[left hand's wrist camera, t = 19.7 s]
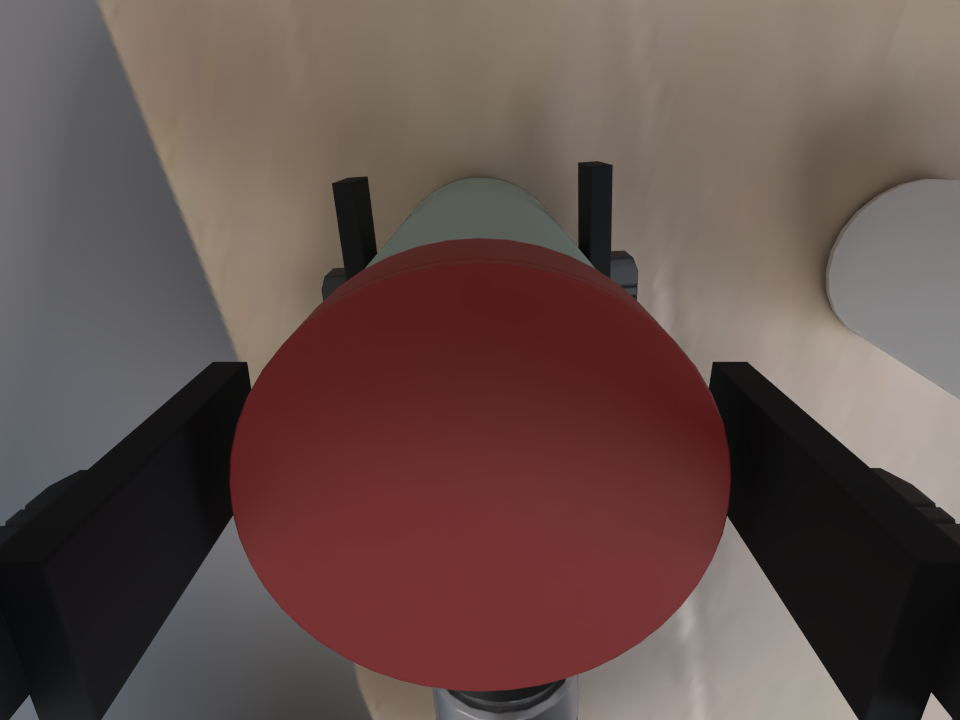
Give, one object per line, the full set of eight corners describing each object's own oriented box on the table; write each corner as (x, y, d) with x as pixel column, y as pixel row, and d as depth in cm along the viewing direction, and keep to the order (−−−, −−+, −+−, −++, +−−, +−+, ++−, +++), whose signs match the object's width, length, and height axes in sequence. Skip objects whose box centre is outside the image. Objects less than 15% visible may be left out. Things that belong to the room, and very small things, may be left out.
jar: (548, 161, 28) (683, 219, 9) (573, 324, 31) (714, 617, 12) (379, 197, 28) (190, 319, 10) (419, 354, 31) (331, 676, 13)
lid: (228, 539, 13) (180, 617, 11) (344, 162, 10) (309, 170, 8) (578, 648, 14) (595, 738, 12) (768, 337, 11) (834, 384, 9)
